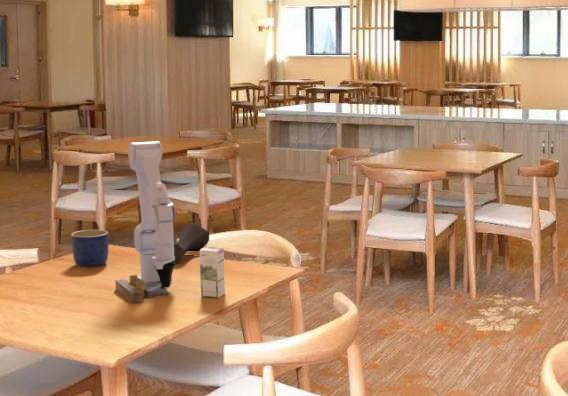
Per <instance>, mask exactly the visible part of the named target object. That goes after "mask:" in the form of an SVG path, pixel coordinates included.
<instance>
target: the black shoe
mask: <svg viewBox="0 0 568 396" xmlns="http://www.w3.org/2000/svg"><path fill="white" fill-rule="evenodd" d="M209 242H210V232H209V231H208V230H207V229H205V228H204V227H202V226H200V225H198V224H195V223H194V224H189V225H186V226H184V228H183V229H182V230H181V231H180V232H179V234H178V241H176V242H174V257H175V260H174V261H172V262H174V263H175V265H177V264H180V263H181V261H182V260H183V259H184V257H185V255H186V253H187V251H190V250H194V249H198V250H201V249H202V248H204V247H206V246H207V244H208V243H209Z"/></svg>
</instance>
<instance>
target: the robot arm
mask: <svg viewBox="0 0 568 396" xmlns="http://www.w3.org/2000/svg"><path fill="white" fill-rule="evenodd" d="M127 155H128V163H129V164H128V165H129V167H130V168H129V169H130V170H132V171H135V175H136V179H137V189H138V198H139V206H140V207H139V208H140V217H141V222H140V223H138V225H137V226H136V227H135V228H134V231H133V235H134V237H133V243H134V249H135V251H136V252H137V253H139V259H140V260H139V261H140V264H139V265H140V275H137V278H138V280H144V283H148V282H160V285H162V286H163V287H165V288H170V285H171V283H172V282H171V281H172V280H173V277H172V275H173V272H174V269H175V266H176V264H175V263H174V262H172V261H174V260H175V257H174V243H175V241H174V223H175V222H176V208H175V206H174V203H173V202H172V200H170V198H169V194H168V190H167V186H166V184H165V183H163V182H162V181H161V179H162V178H161V173H160V166H159V164H161V161H162V158H163V146H162V143H161V142H160V141H159V140H155V141H141V142H140V141H138V142H134V141H133V142H132V141H131V142H130V143H129V145H128V149H127Z"/></svg>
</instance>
